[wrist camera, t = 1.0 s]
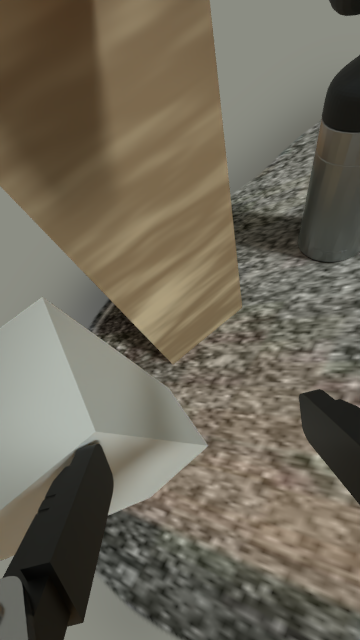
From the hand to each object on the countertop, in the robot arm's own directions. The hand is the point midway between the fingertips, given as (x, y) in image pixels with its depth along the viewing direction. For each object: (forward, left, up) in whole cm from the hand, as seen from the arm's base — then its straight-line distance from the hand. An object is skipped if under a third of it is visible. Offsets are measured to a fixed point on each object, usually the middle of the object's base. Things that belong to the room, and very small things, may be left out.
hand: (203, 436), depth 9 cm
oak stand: (-16, -15, -21) cm, 30 cm away
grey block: (+3, -10, -21) cm, 23 cm away
